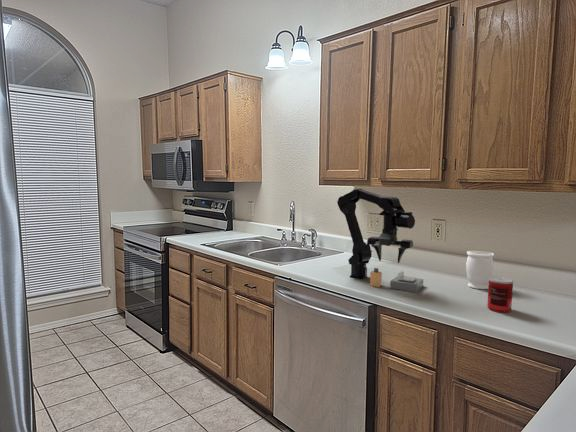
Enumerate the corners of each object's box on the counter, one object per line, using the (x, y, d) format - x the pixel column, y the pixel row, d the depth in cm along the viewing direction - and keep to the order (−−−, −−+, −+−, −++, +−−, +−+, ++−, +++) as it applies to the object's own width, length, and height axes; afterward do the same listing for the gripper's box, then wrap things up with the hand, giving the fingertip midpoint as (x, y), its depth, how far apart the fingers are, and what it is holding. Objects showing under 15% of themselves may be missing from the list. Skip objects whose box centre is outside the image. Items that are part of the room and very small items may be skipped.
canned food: (503, 305, 149) (505, 276, 147) (516, 313, 141) (518, 282, 139) (482, 305, 148) (484, 276, 147) (494, 313, 140) (496, 282, 139)
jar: (459, 284, 176) (461, 251, 175) (477, 282, 180) (479, 249, 179) (479, 291, 167) (480, 255, 165) (497, 289, 170) (499, 254, 169)
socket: (390, 288, 171) (390, 281, 171) (397, 282, 180) (398, 275, 180) (416, 292, 165) (416, 284, 165) (423, 285, 174) (423, 279, 174)
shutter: (397, 279, 172) (397, 273, 171) (401, 277, 176) (401, 271, 176) (413, 281, 168) (413, 275, 168) (416, 279, 173) (416, 273, 173)
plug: (370, 285, 174) (370, 268, 174) (372, 284, 177) (373, 267, 176) (379, 287, 172) (379, 269, 172) (381, 285, 175) (381, 268, 174)
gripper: (362, 226, 172) (362, 262, 174) (406, 230, 162) (405, 268, 164) (372, 224, 182) (371, 258, 183) (414, 227, 172) (412, 263, 173)
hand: (389, 261), depth 176 cm, fingers open, 8 cm apart
